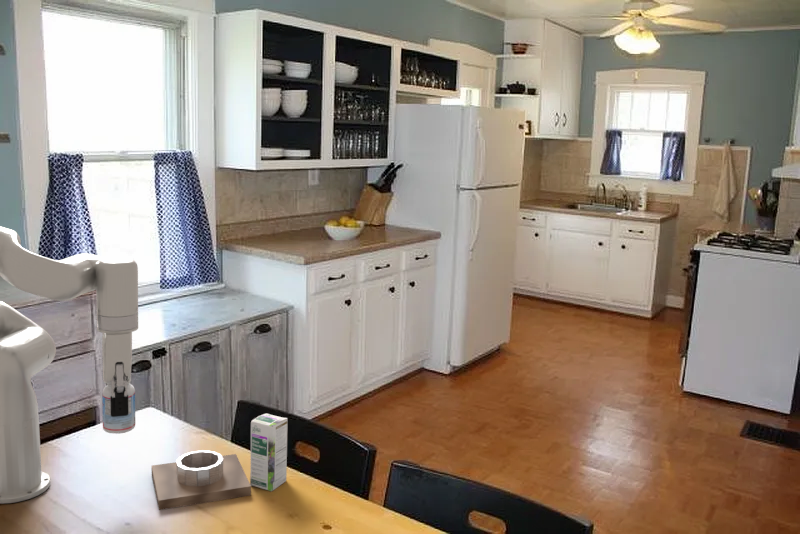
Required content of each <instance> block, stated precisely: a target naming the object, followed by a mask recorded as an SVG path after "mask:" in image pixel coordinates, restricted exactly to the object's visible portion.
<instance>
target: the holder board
mask: <svg viewBox="0 0 800 534" xmlns="http://www.w3.org/2000/svg"><path fill="white" fill-rule="evenodd" d="M222 458H223V476H222V477H221V479H220V480H219V481H216V482H214V483H212V484H209V485H204V486H187V485H184V484H182V483H180V482H178V480H177V470H176V461H174V462H169V463H161V464H154V465H153V464H152V465H151V477H152V481H153V482H152V483H153V487H154V493H155V499H156V502H157V507H158V511H161V510H167V509H174V508H180V507H186V506H192V505H199V504H206V503H211V502H217V501H224V500H229V499H230V500H231V499H236V498H242V497H247V496H252V486H251V485H250V481H249V479H248V477H247V475H246V473H245V471H244V469H243V466H242V464H241V462H240V460H239V457H238V455H237V454H236V453H232V454H227V455H226V454H225V455H222ZM200 468H205V467H200ZM197 469H198V468H197Z"/></svg>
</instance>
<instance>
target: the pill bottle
mask: <svg viewBox="0 0 800 534" xmlns="http://www.w3.org/2000/svg"><path fill="white" fill-rule="evenodd" d="M123 380H125V379H124V378H123ZM114 381H116V378H114ZM131 381H132V378H131V379H130V381H129V382H127V395H128V415H127V416H117V417H112V416H111V396H112V384H111V382H112V381H111V382H107V384H106V385H105V386H104V387H103V389H102V394H101V396H102V399H101V401H102V430H103V431H105V432H106V433H109V434H116V435H117V434H126V433H128V432H130V431H132V430H134V429H135V428H136V389H135V387H134V385H133V384H132V383H131ZM115 387H117V384H115Z"/></svg>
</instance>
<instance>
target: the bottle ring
mask: <svg viewBox="0 0 800 534" xmlns="http://www.w3.org/2000/svg"><path fill="white" fill-rule="evenodd" d="M222 456H223V455H222V454H221V453H219V452H216V451H213V450H204V449H201V450H194V451H189V452H187V453H184V454H182V455H181V456H179V457H178V458H177V459H176V460H175V462H176V470H177V480H178V482H180V483H182V484H184V485H187V486H204V485H209V484H212V483H214V482H216V481H219V480H220V479H221V477H222V476H223V458H222ZM200 467H205V468H200ZM197 468H198V469H197Z"/></svg>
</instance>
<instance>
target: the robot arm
mask: <svg viewBox="0 0 800 534" xmlns="http://www.w3.org/2000/svg"><path fill="white" fill-rule="evenodd" d="M21 243H22V239H21V237H20V235H19V234H18V233H17V231H15V230H14V229H10V228H7V227H4V226H1V225H0V277H1V279H3V280H4V281H5V282H6V283H8V284H10V285H11V286H13V287H15V288H16V289H17V290H20V291H23V292H25V293H29V294H31V295H35V296H38V297H40V298H44V299H47V300H52V301H57V302H59V301H60V302H66V301H71V300H73V299H76V298H78V297H80V296H81V295H84V294H87V293H90V292H93V291H95V292H96V293H95V294H96V295H95V297H96V299H95V300H96V331H97V332H99V333H102V340H101V345H102V347H101V348H102V350H101V352H102V354H101V355H102V378H103V383H104V384H106V385H108V384H107V382H111V381H112V382H111V384H112V396H111V416H112V417H117V416H127V415H128V395H127V382H129V381H130V379H131V380H132V362H133V361H132V360H133V332H135V331H137V330H138V329H139V267H138V263H137V262H136V261H135V260H134V259H131V258H127V257H106V256H100V255H97V254H92V253H91V254H90V253H77V254H74V255H70V256H69V257H65V258H63V259H62V258H61V259H59V260H57V259H52V258H50V257H45V256H42V255H40V254H37V253H34V252H32V251H29V250H28V249H26V248H24V247H22V244H21ZM56 353H57V347H56V343H55V340H54V338H53V337H52V336H51V335H50V333H48V331H47V330H46V329H44V328H43V327H42V326H41V325H39V324H37V323H36V322H34V321H33V320H31V318H29V317H27V316H26V315H24V314H23V313H21V312H19V311H18V310H16V309H15V308H14V307H13V306H11V305H10V304H8V303H5V302H4V301H2V300H0V504H12V503H19V502H24V501H26V500H30V499H33V498H35V497H37V496H39V495H41V494H43V493H44V492H45V491H46V490H48V489H49V488H50V486H51V477H50V474H48V473H47V472H44V471H42V456H41V455H42V453H41V439H40V438H41V437H40V435H41V434H40V417H39V404H38V398H37V394H36V391H35V389H34V387H33V384H32V378H33V377H34V376H35V375H36V374H38V373H40V372H41V371H42V370H44V369H46V368H47V367H48V366H49V365H50V364H52V362H53V361H54V359H55V357H56ZM114 378H116V381H114ZM123 378H124V379H125V380H123ZM115 384H117V387H115Z"/></svg>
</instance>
